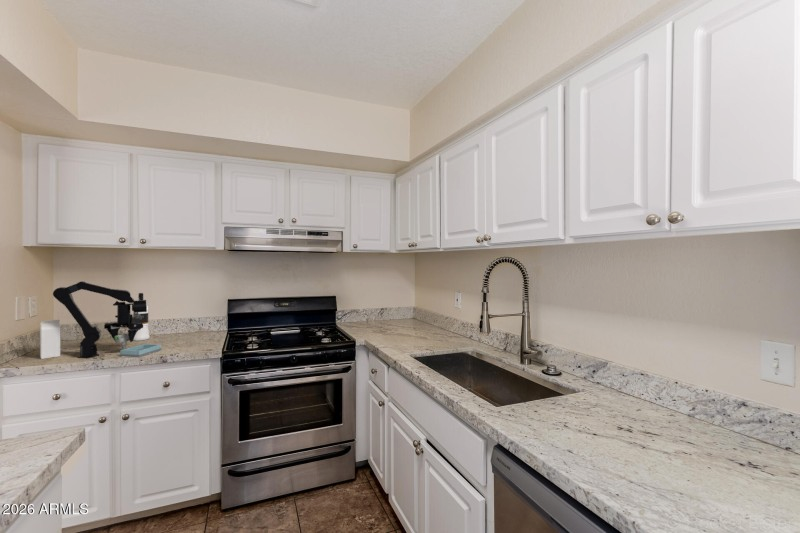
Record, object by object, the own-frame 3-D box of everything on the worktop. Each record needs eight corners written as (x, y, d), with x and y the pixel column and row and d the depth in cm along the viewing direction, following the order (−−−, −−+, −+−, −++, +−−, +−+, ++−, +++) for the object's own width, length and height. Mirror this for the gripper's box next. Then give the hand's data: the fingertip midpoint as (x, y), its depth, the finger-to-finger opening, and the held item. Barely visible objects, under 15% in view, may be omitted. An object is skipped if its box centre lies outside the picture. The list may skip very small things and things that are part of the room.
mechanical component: (134, 350, 202) (134, 332, 202) (118, 355, 192) (118, 336, 192) (129, 350, 202) (129, 332, 202) (113, 354, 192) (113, 336, 192)
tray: (120, 356, 189) (120, 350, 189) (143, 349, 204) (143, 344, 204) (139, 357, 188) (139, 351, 188) (161, 350, 203) (161, 344, 203)
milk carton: (60, 356, 188) (60, 320, 188) (41, 359, 182) (41, 322, 182) (58, 354, 193) (58, 319, 192) (40, 356, 187) (40, 320, 187)
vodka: (153, 338, 233) (153, 292, 233) (138, 341, 224) (138, 293, 224) (142, 337, 236) (142, 292, 235) (128, 340, 227) (128, 293, 227)
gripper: (151, 311, 204) (151, 339, 204) (121, 310, 206) (121, 337, 206) (134, 314, 193) (134, 343, 193) (103, 313, 195) (103, 342, 195)
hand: (123, 341), depth 197 cm, fingers open, 9 cm apart
